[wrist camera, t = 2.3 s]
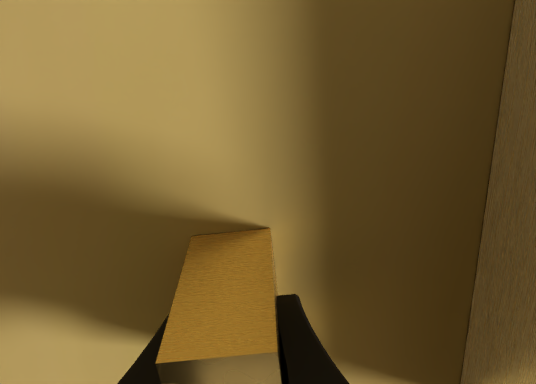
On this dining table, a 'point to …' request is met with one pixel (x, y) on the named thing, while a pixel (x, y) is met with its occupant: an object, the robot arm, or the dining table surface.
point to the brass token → (224, 314)
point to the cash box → (509, 228)
